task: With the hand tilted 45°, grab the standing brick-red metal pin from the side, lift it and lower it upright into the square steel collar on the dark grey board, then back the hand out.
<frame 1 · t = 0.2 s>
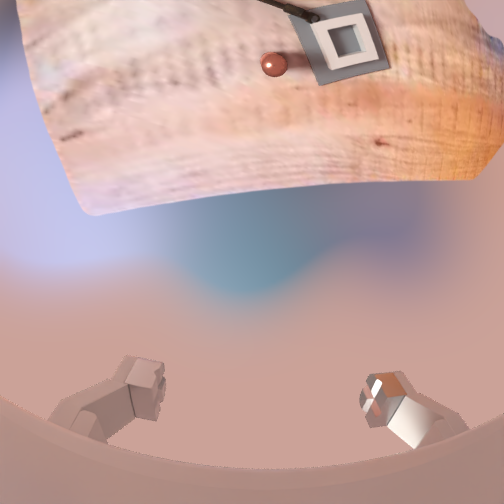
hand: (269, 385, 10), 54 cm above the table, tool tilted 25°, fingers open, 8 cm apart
socket board: (341, 40, 40), on the table
pin: (270, 61, 44), on the table
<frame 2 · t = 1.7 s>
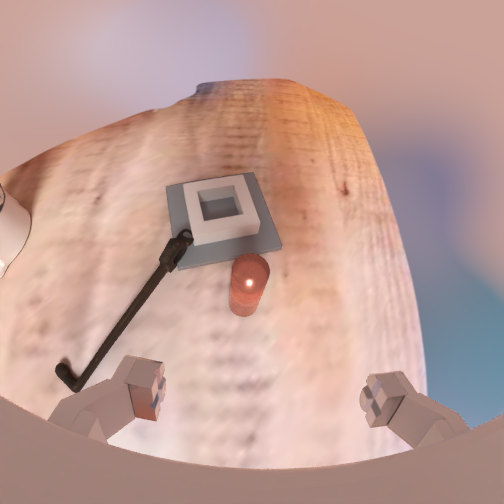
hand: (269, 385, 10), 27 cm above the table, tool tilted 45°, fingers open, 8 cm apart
socket board: (219, 217, 46), on the table
black hooked rod: (125, 310, 37), on the table, touching socket board
pin: (243, 303, 39), on the table
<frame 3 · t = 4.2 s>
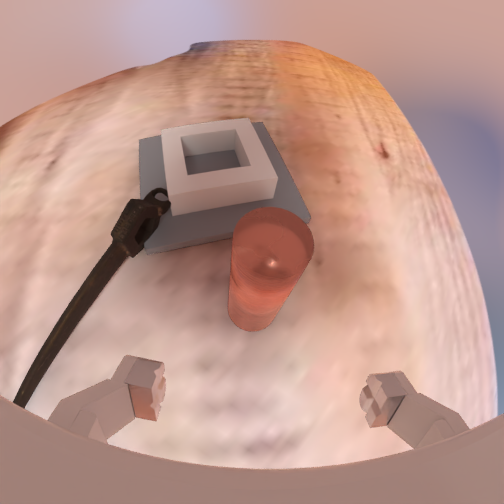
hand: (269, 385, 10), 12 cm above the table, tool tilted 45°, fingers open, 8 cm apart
socket board: (213, 177, 30), on the table
black hooked rod: (65, 317, 21), on the table, touching socket board
pin: (252, 308, 23), on the table
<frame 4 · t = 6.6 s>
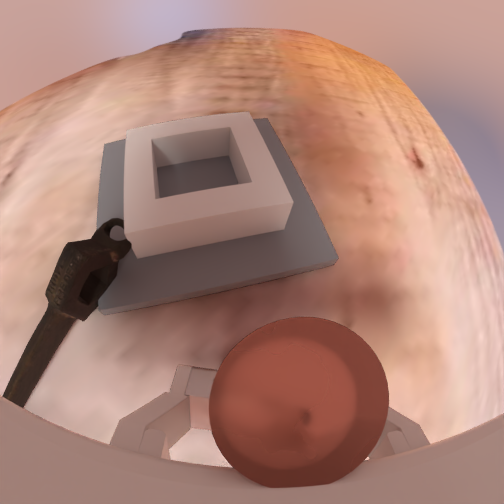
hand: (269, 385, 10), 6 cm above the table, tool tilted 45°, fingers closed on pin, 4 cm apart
socket board: (199, 195, 21), on the table
black hooked rod: (14, 387, 12), on the table, touching socket board
pin: (253, 398, 15), on the table, touching gripper
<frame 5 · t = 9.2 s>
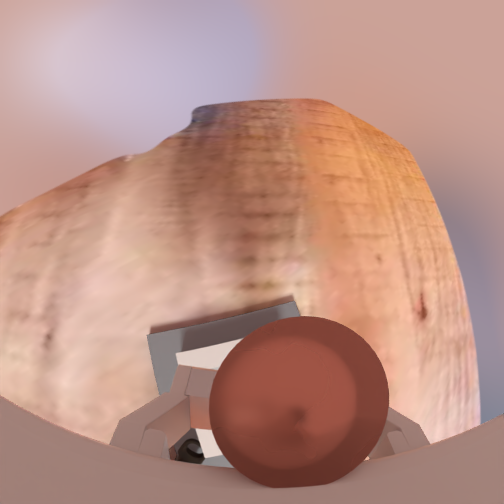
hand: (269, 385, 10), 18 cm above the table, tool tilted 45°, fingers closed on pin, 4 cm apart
socket board: (242, 394, 25), on the table
pin: (253, 398, 15), point 12 cm above the table, touching gripper
when the fingers open (8 cm above the table, at t = 12.0 s): pin drops 1 cm, resting on socket board.
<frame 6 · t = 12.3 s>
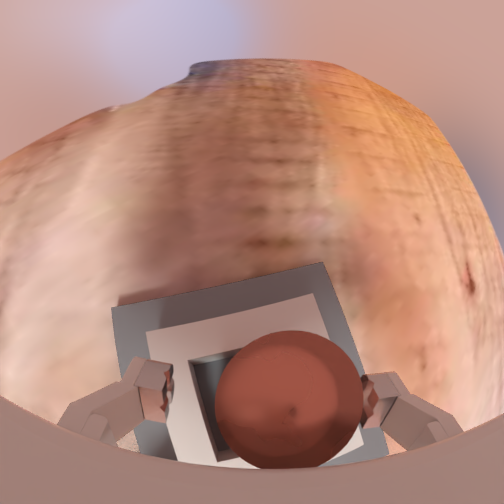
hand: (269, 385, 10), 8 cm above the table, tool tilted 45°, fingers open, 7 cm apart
socket board: (249, 398, 17), on the table
pin: (250, 397, 16), point 1 cm above the table, touching socket board
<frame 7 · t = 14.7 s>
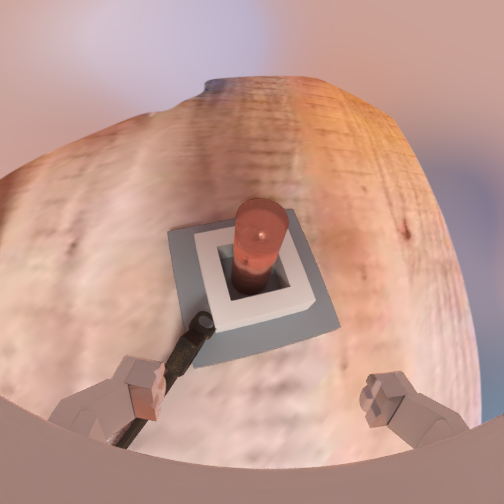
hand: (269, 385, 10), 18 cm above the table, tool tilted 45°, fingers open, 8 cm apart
socket board: (249, 281, 31), on the table
black hooked rod: (122, 421, 23), on the table, touching socket board
pin: (249, 278, 31), point 1 cm above the table, touching socket board
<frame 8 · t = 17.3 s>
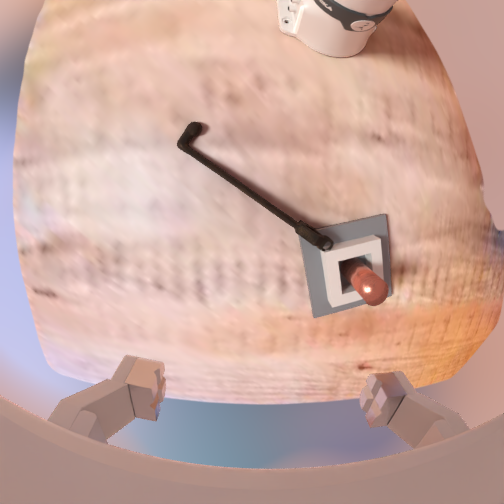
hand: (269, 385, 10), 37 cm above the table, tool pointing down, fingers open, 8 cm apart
socket board: (348, 266, 48), on the table
black hooked rod: (259, 184, 44), on the table, touching socket board
pin: (351, 267, 47), point 1 cm above the table, touching socket board
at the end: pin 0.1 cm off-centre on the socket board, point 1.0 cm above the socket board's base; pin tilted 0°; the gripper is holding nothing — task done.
